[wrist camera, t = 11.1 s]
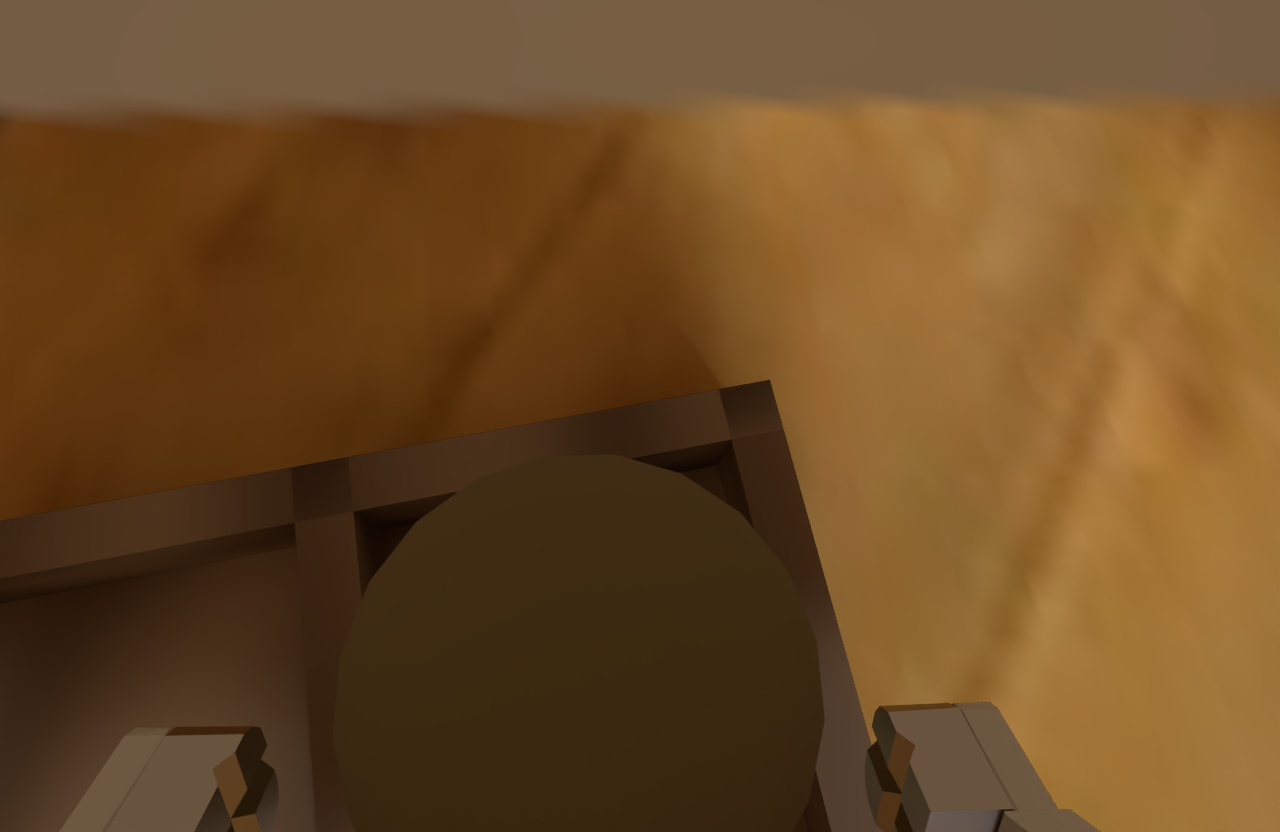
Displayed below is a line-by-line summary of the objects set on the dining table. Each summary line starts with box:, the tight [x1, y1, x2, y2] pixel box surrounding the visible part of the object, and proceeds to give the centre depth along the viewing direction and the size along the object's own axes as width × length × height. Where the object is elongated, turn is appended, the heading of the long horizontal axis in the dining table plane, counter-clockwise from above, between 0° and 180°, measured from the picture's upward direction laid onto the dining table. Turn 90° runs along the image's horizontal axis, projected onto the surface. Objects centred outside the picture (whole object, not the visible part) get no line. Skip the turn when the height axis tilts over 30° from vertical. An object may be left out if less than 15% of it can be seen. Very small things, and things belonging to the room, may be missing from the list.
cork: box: [332, 455, 825, 832], centre depth 12 cm, size 6×6×11 cm
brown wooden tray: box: [0, 380, 884, 832], centre depth 16 cm, size 20×11×3 cm, turn 102°
